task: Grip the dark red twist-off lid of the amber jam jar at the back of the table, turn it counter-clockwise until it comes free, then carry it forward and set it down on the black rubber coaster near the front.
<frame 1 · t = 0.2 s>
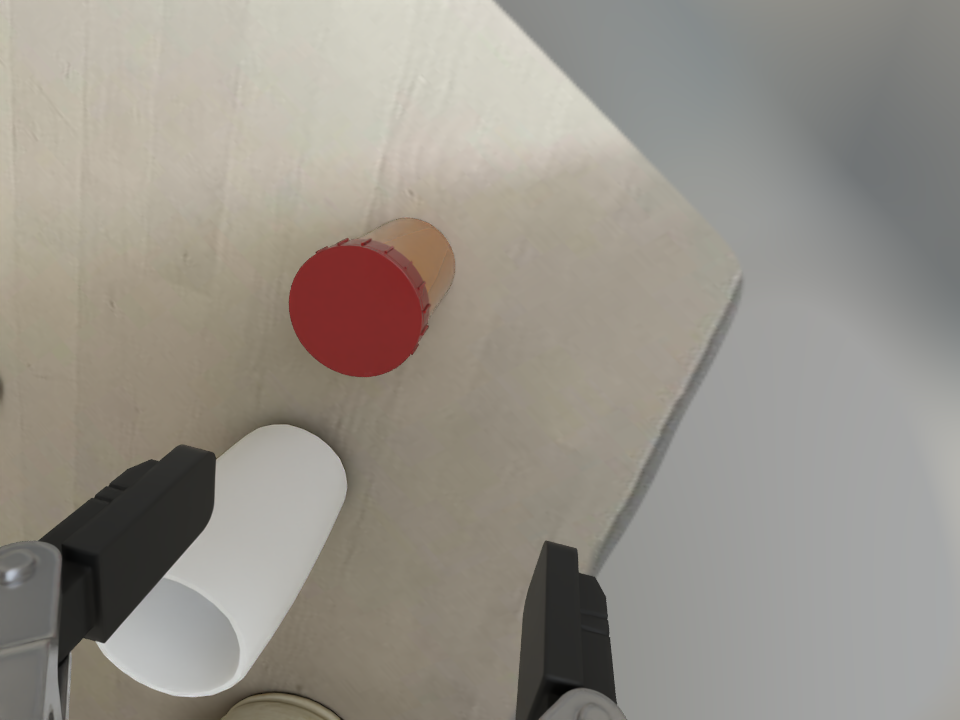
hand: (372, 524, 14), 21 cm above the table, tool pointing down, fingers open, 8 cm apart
jam jar: (410, 264, 33), on the table
jar lid: (356, 312, 24), point 9 cm above the table, screwed on, not yet turned
cup: (298, 465, 39), on the table
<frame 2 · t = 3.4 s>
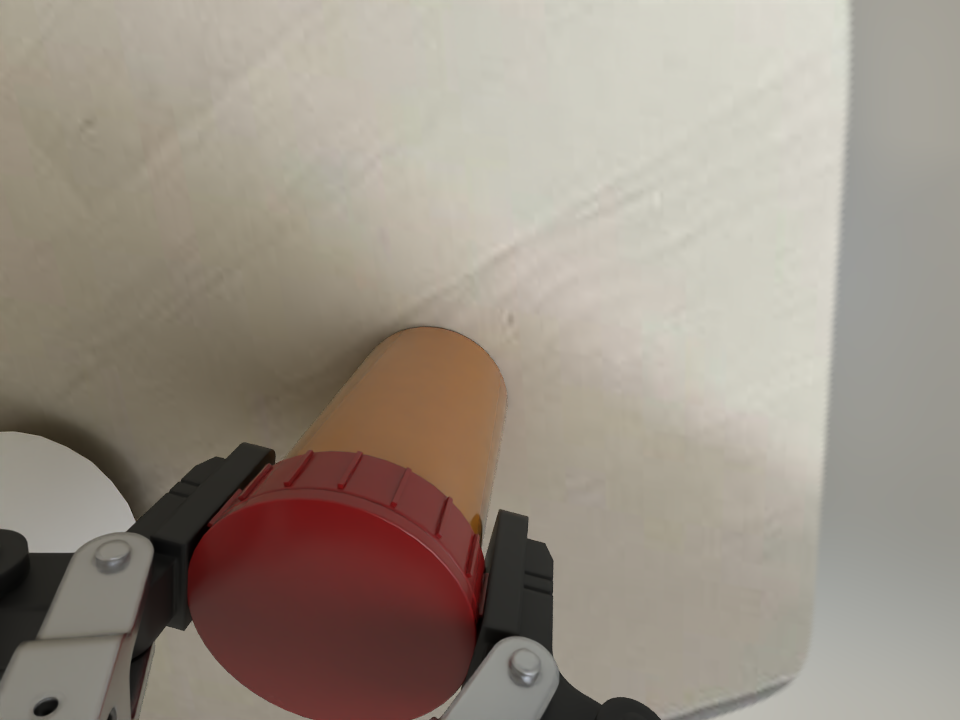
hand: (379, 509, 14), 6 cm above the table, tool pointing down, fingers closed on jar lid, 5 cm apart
jam jar: (432, 397, 20), on the table
jar lid: (333, 611, 11), point 9 cm above the table, screwed on, not yet turned, touching gripper
cup: (74, 496, 24), on the table
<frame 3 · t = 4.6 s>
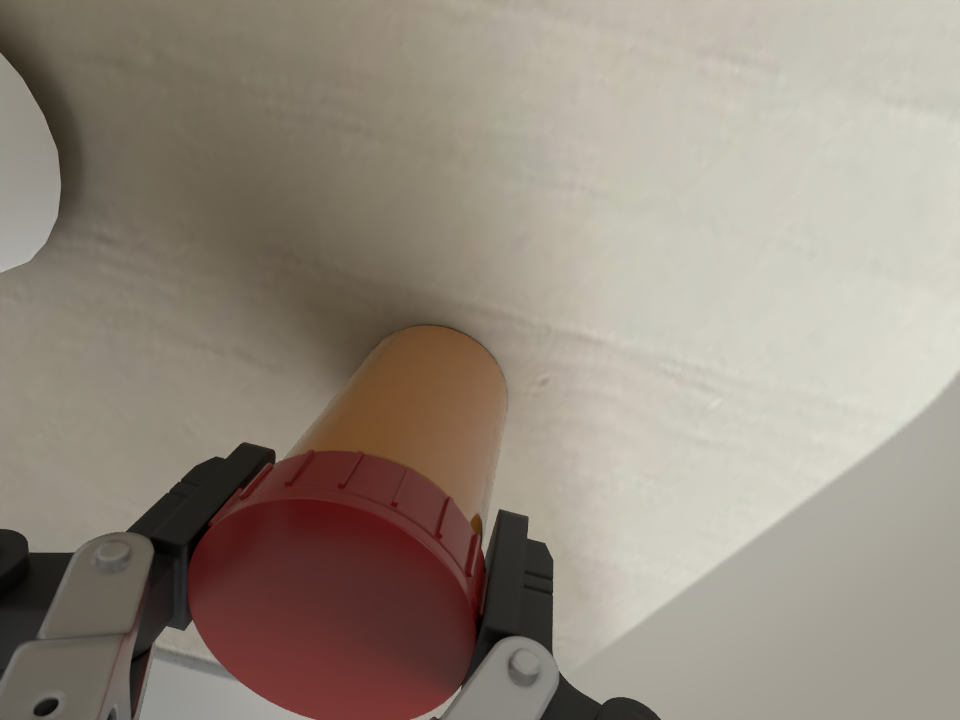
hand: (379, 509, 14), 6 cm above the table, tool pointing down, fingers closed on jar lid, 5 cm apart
jam jar: (433, 395, 20), on the table
jar lid: (333, 610, 11), point 10 cm above the table, turned 42° so far, risen 0.1 cm, still on its thread, touching gripper
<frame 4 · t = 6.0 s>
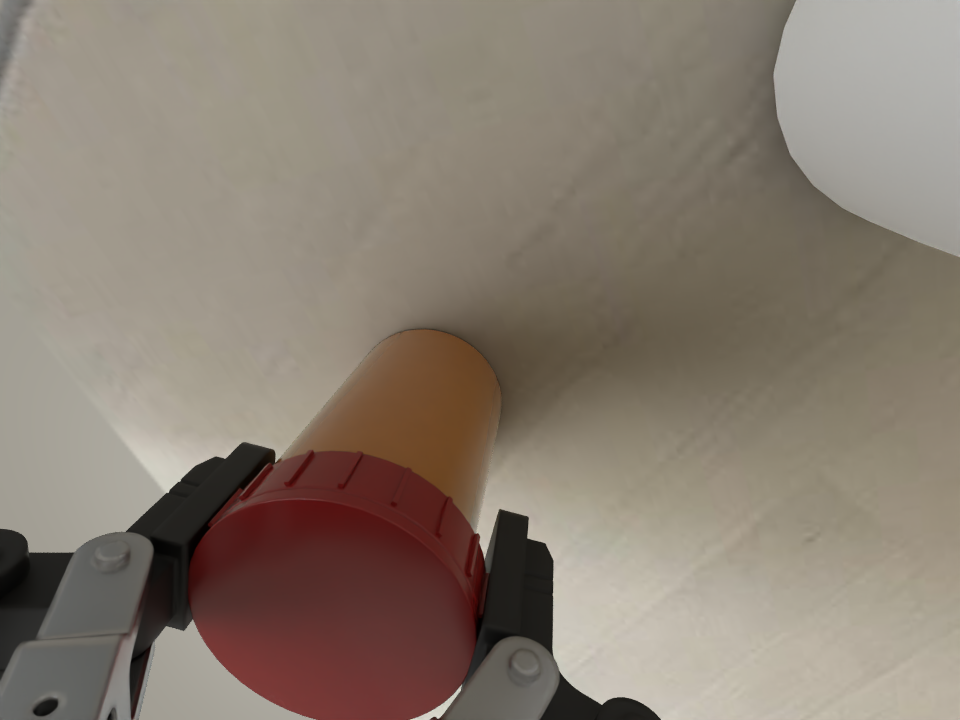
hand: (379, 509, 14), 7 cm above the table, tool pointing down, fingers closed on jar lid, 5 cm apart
jam jar: (428, 398, 20), on the table, touching gripper
jar lid: (334, 610, 11), point 10 cm above the table, off its thread, touching gripper
cup: (916, 60, 15), on the table
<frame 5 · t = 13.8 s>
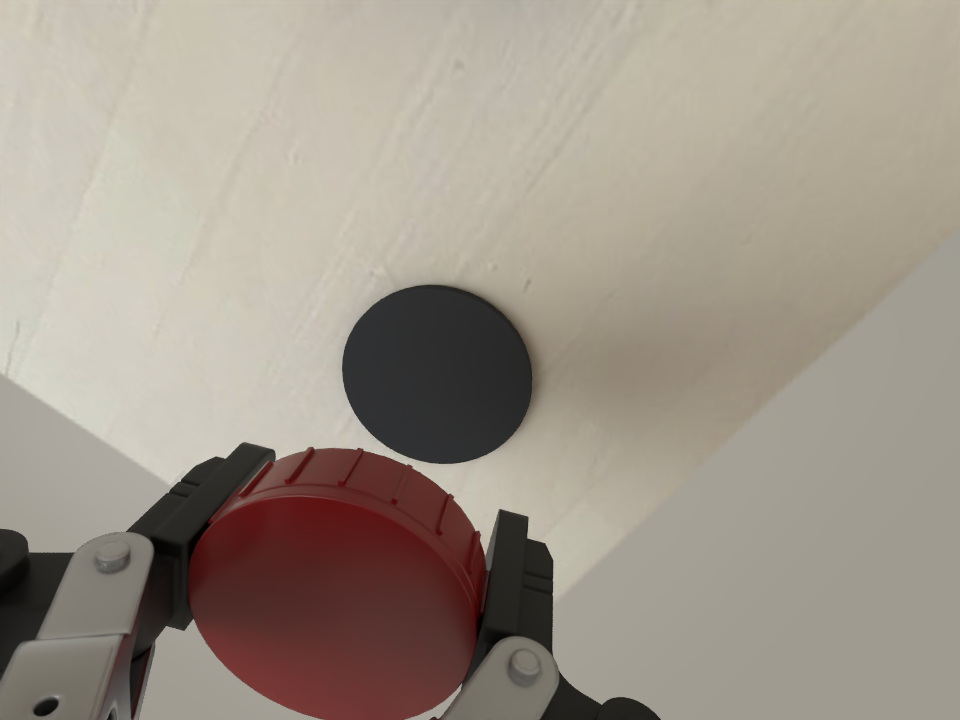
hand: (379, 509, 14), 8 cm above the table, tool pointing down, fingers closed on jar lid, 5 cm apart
jar lid: (334, 608, 11), point 11 cm above the table, off its thread, touching gripper
coaster: (437, 377, 21), on the table
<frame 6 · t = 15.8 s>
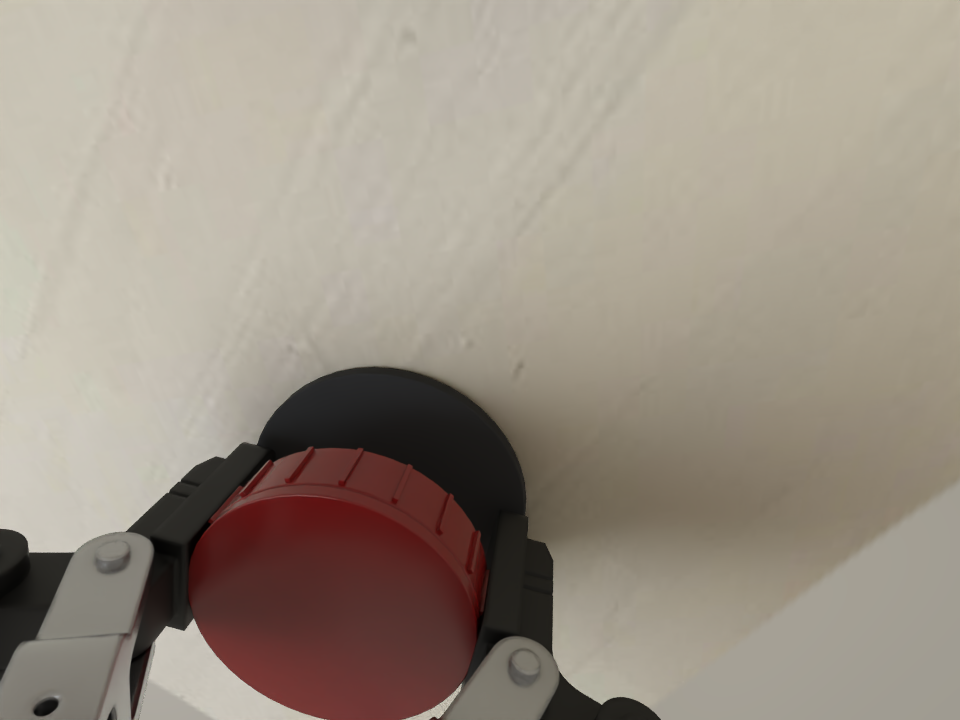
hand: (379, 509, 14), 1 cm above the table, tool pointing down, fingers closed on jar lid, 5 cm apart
jar lid: (334, 608, 11), point 4 cm above the table, off its thread, touching gripper
coaster: (389, 492, 15), on the table
when the fingers open (1 cm above the table, at t = 24.4 s): jar lid drops 3 cm, resting on coaster.
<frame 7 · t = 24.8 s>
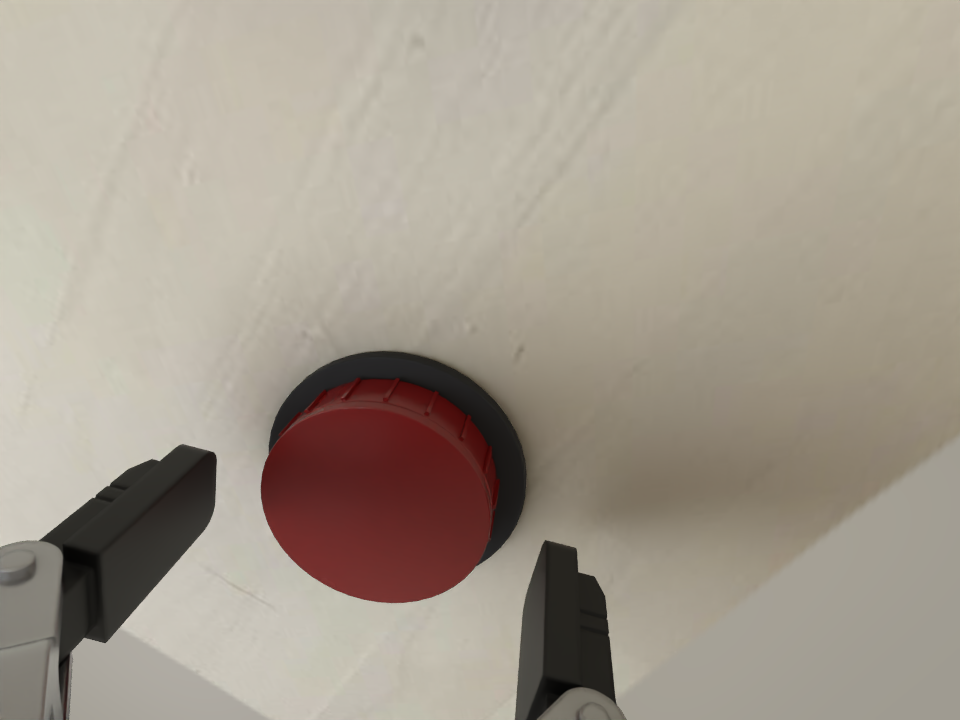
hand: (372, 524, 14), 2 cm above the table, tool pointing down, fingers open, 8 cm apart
jar lid: (377, 505, 14), point 2 cm above the table, off its thread, touching coaster
coaster: (397, 470, 16), on the table
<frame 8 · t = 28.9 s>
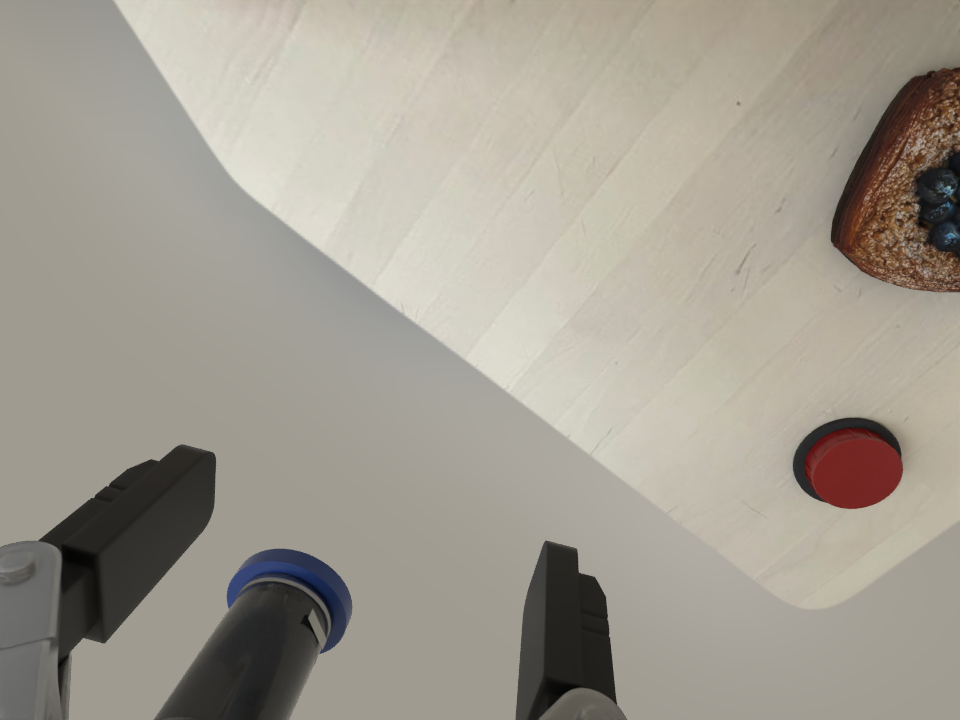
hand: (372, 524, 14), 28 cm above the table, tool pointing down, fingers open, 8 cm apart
jar lid: (855, 472, 40), point 2 cm above the table, off its thread, touching coaster
coaster: (844, 460, 42), on the table
pastry: (940, 184, 34), on the table
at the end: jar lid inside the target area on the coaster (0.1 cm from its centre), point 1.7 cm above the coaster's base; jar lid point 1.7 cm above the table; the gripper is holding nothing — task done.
